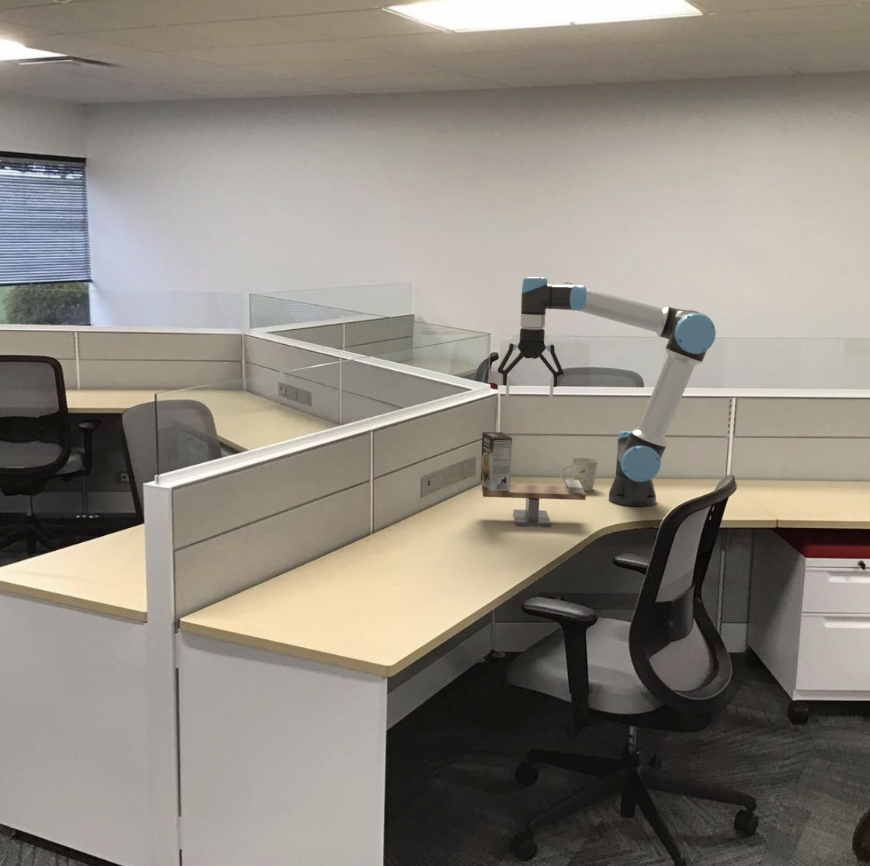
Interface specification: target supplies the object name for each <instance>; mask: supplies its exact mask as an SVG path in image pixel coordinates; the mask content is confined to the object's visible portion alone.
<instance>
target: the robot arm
mask: <svg viewBox="0 0 870 866" xmlns="http://www.w3.org/2000/svg"><path fill="white" fill-rule="evenodd" d="M520 304H521V305H520V327H521V328H520V329H519V343H518V344H517V343H513V342H509V345H508V350H507V352H506V354H505V355H504V357H503V359H502V361H501V362H500V364H499V366H498V368H497V370H496V371H497V373H499V374H501V375H502V385H503V386H505V397H507V398H508V397H510V396H509V395H510V379H511V378H510V376H511V375H510V374H509V373H510V372H511V371H512V370H513V369H514V368H515V366H517V365H518V364H519V362H520V361H521V360H522V359H524V358H525V359H533V360H535V359H538V358H539V359H540V360H541V362H543V364H544V365H545V367H546V368H547V369H548V370H549V371H550V373H551V374H552V375H550V378H549V379H550V380H549V381H550V382H549V399H554V388H557V386H558V379H559V378H558V377H559V376H563V375H564V374H565V372H564V370H563V368H562V366H561V363H560V361H559V359H558V356H557V354H556V352H555V350H556V349H555V345H554V344H553V343H550V344H545V334H546V333H545V332H546V330H545V327H546V317H547V316H546V311H547V310H563V311H564V310H565V311H578V312H580V313H581V312H582V313H584V314H585V313H586V314H588V315H591V316H596V317H600V318H603V319H606V320H611V321H614V322H618V323H622V324H624V325H629V326H632V327H636V328H639V329H643V330H647V331H651V332H654V333H655V334H656V335H657V336H658V337H660V338H664V339H666V340H668V341H667V343H666V347H665V351H666V353H667V358H666V359H665V362H664V364H663V367H662V369H661V372H660V374H659V376H658V379H657V380H656V383H655V385H654V388H653V390H652V393H651V396H650V398H649V400H648V403H647V405H646V408H645V411H644V412H643V415H642V417H641V420H640V421H639V424H638V426H637V428H635V429H632V430H621V431H619V433H618V437H617V448H616V449H617V450H616V465H615V476H614V479H613V482H612V484H611V487H610V489H609V492H608V501H610V502H611V503H614V504H617V505H621V506H628V507H650V506H653V505H655V504H656V502H657V493H656V490H655V486H654V482H653V479H654V478H655V477H656V476H657V475H658V473H659V471H660V469H661V466H662V463H661V462H662V458H663V455H664V453H665V450H666V447H667V442H666V439H665V438H666V435H667V433H668V430H669V428H670V426H671V423H672V421H673V419H674V416H675V414H676V412H677V409H678V407H679V405H680V403H681V400H682V397H683V395H684V392H685V390H686V388H687V386H688V383H689V381H690V379H691V376H692V374H693V371H694V369H695V367H696V366H698V365H700V364H702V363H703V361H704V358H705V356H706V354H707V351H708V350H709V349H710V348H711V347H712V346H713V345H714V342H715V340H716V336H717V335H716V333H717V332H716V327H715V325H714V322H713V320H712V319H711V318H710V317H709V316H708V315H706V314H704V313H702V312H698V311H695V310H691V309H681V308H674V307H670V306H665V307H664V308H662V307H657V306H654V305H651V304H650V305H649V304H647V303H642V302H639V301H635V300H632V299H628V298H624V297H621V296H617V295H613V294H610V293H605V292H603V291H599V290H596V289H592V288H588V287H586V286H585V285H582V284H581V285H579V284H573V283H571V282H562V283H560V284H552V283H549V282H548V278H546V277H545V276H543V277H542V276H541V277H540V276H539V277H538V276H526V277H525V278H523V280H522V287H521V303H520ZM516 349H518V350H519V353H518V355H517V356H516V357H515V358H514V359H513V360H512V361H511V363H509V365H507V366H506V364H507V363H508V361H509V359H510V357H511V355H512V354H513V351H515V350H516ZM545 350H547V352H548V353H549V354H550V355H551V357H552V360H553V362H554V365H555V367H556V369H557V371H556V370H555V369H554V368H553V366H552V365H551V364H550V363H549V361H548V360H547V359H546V357H545V356H544V355H543V353H544V351H545ZM505 367H506V368H505ZM504 368H505V369H504Z"/></svg>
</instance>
